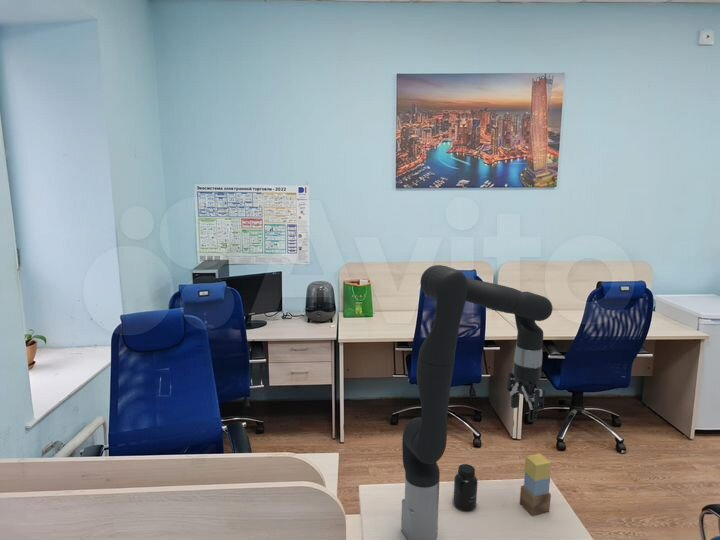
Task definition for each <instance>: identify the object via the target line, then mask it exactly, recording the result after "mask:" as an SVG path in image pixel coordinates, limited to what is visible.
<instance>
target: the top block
mask: <svg viewBox="0 0 720 540" xmlns="http://www.w3.org/2000/svg"><path fill="white" fill-rule="evenodd" d="M551 465H552V462H551V461H550V460H549V459H547V458H546V457H545V456H544V455H543V454H541V453H534V454H531V455H530V454H529V455H526V456H525V461H524V473H525V472H526V473H527V474H528V475H529V476H530V477H531V478H532V479H533V480H534V481H538V480H543V479H548V478H550V479H551V467H552V466H551Z"/></svg>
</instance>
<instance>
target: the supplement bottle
mask: <svg viewBox="0 0 720 540" xmlns="http://www.w3.org/2000/svg"><path fill="white" fill-rule="evenodd" d="M477 499H478V478H477V476H476V469H475V467H474V466H473V465H471V464H467V463H463V464H460V465H458V470H457V473H456V474H455V476H454V482H453V500H452V501H453V502H452V503H453V505H454V506H455V507H456V509H458V510H460V511H463V512H464V511H466V512H470V511H473V510H474V509H476V506H477Z"/></svg>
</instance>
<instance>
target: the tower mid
mask: <svg viewBox="0 0 720 540" xmlns="http://www.w3.org/2000/svg"><path fill="white" fill-rule="evenodd" d="M550 484H551V477H550V478H548V479H543V480H538V481H534V480H533V479H532V478H531V477H530V476H529V475H528V474H527V473H526V472H525V471H524V479H523V485H524V487H525V488H526V489H527V490H528V491H529V492H530V493H531V494H532V495H533V496H534V497H535V496H540V495H544V494H549V493H550Z"/></svg>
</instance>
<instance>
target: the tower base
mask: <svg viewBox="0 0 720 540" xmlns="http://www.w3.org/2000/svg"><path fill="white" fill-rule="evenodd" d="M519 492H520V493H519V495H520V496H519V505H520V506H521V507H522V508H523V509H524V510H525V511H526V512H527V513H528V514H529V515H530V516H531V517H535V516H540V515H543V514H547V513H550V510H551V509H550V508H551V497H552V494H551V493H550V492H549V494H544V495H540V496H535V497H534V496H533V495H532V494H531V493H530V492H529V491H528V490H527V489H526V488H525V487H524V484H523V485H520V491H519Z"/></svg>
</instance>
